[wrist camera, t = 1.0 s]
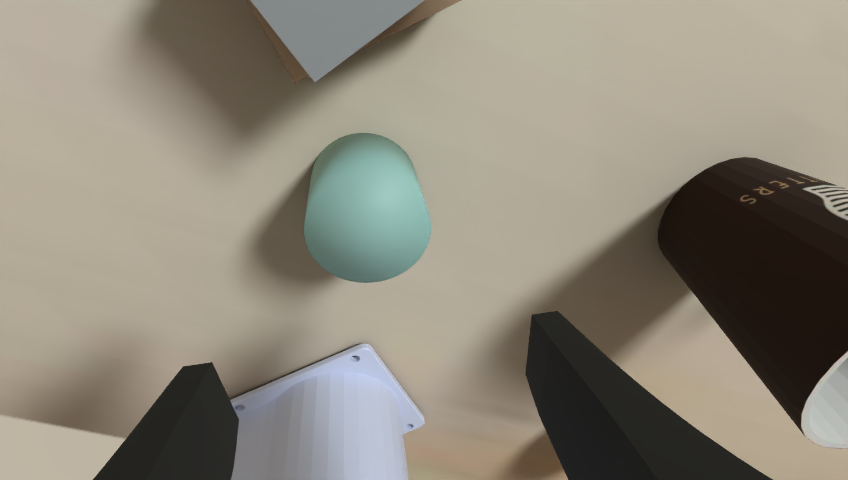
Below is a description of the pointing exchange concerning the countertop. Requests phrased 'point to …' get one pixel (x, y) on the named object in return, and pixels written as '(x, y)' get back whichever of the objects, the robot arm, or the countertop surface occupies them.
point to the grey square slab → (330, 27)
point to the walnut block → (431, 5)
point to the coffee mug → (772, 280)
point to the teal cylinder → (365, 210)
